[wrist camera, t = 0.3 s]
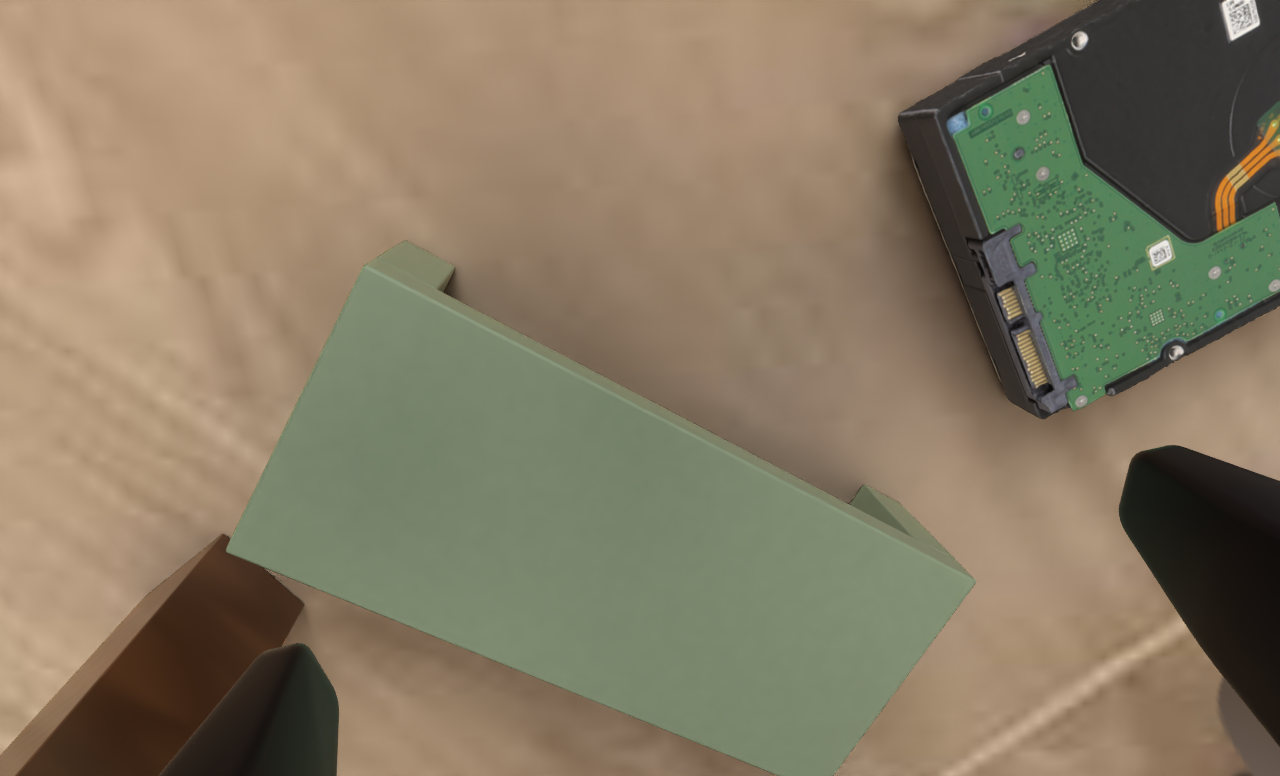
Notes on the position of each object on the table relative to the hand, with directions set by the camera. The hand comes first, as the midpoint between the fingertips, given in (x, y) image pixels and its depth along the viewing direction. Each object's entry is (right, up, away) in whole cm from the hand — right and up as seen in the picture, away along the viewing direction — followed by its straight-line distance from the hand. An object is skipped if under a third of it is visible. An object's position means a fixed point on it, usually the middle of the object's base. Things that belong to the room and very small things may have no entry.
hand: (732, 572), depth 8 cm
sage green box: (-2, -1, +16) cm, 17 cm away
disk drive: (+15, +9, +15) cm, 23 cm away
